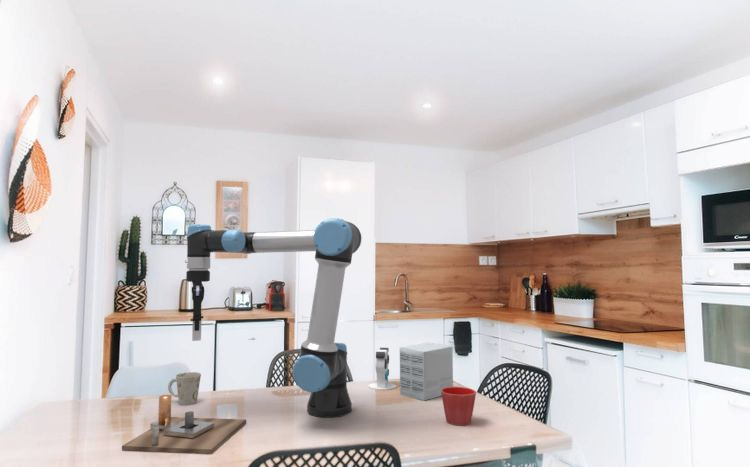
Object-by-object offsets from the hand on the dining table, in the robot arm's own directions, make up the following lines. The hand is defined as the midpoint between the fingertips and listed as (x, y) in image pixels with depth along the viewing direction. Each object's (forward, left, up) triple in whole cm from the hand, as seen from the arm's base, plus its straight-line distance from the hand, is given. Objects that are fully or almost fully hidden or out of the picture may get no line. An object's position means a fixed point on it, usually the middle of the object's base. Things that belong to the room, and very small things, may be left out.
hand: (196, 339), depth 163 cm
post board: (-8, +20, -25) cm, 33 cm away
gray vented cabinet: (-77, -34, -25) cm, 88 cm away
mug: (+11, -13, -25) cm, 30 cm away
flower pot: (-87, -1, -25) cm, 91 cm away
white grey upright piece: (-59, -43, -25) cm, 77 cm away
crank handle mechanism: (-4, +19, -23) cm, 31 cm away
